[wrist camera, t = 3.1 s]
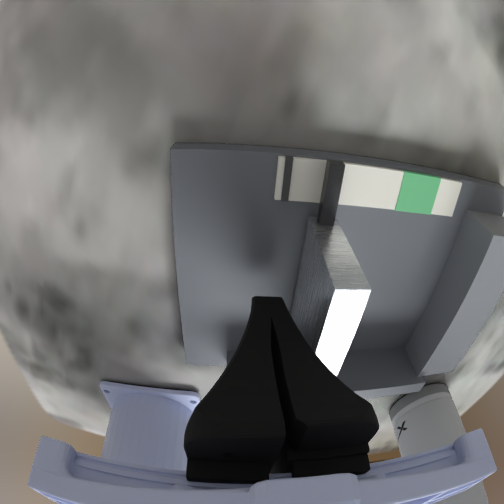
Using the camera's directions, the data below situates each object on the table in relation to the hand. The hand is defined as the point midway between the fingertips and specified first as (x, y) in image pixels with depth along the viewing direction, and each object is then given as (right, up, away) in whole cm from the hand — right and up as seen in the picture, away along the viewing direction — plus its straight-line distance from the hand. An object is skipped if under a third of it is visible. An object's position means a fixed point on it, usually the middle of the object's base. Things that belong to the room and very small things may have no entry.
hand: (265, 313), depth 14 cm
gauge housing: (+4, +1, +3) cm, 5 cm away
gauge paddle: (+2, +2, +1) cm, 3 cm away
